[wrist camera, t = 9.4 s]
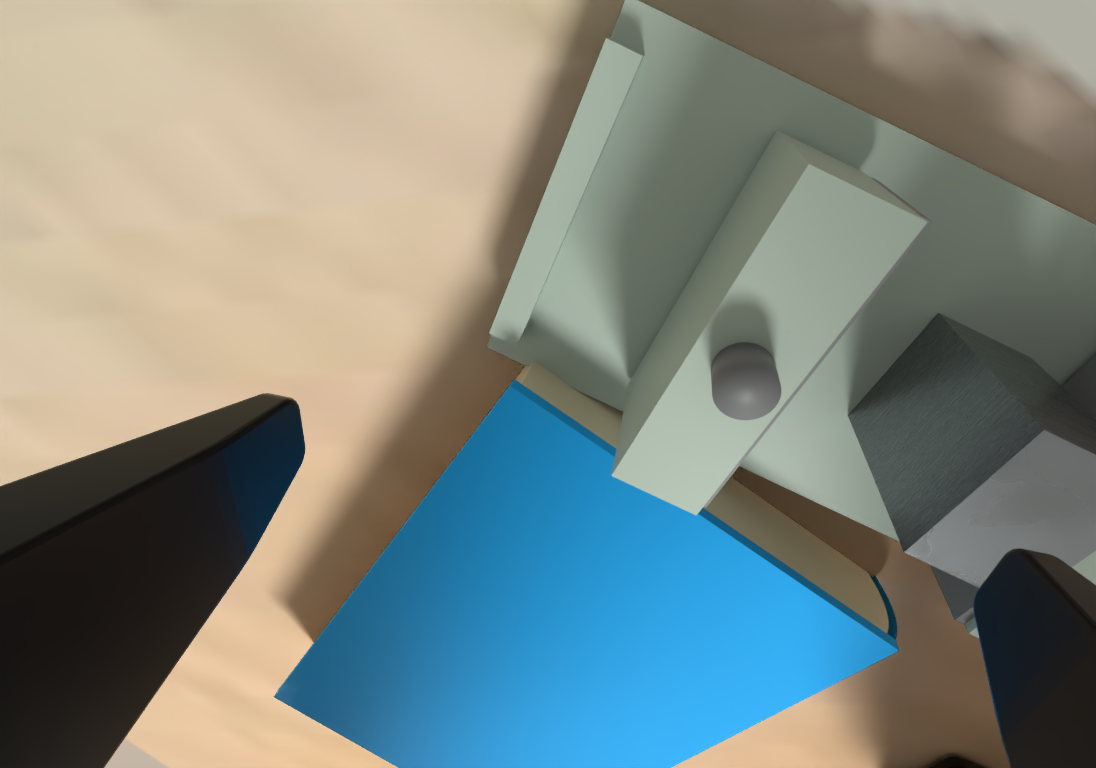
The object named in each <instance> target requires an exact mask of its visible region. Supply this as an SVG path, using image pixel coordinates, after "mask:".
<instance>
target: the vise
mask: <svg viewBox="0 0 1096 768" xmlns="http://www.w3.org/2000/svg"><path fill="white" fill-rule="evenodd" d="M777 130H778V131H780V132H782V133H784V134H786V135H788V136H790V137H793V138H795V139H797V140H799V141H801V142H803V143H805V144H807V145H809V146H811V147H813V148H815V149H817V150H819V151H821V152H823V153H825V154H827V155H829V156H831V157H834V158H836V159H838V160H840V161H842V162H844V163H846V164H848V165H850V166H852V167H854V168H856V169H858V170H860V171H862V172H864V173H865V174H866V175H868V176H870V177H872V178H874V179H876V180H878V181H879V182H881V183H882V184H883V185H885V186H886V187H887V188H889V189H890V190H891V191H893V192H894V193H895V194H897V195H898V196H899V197H901V198H902V199H903V200H905V201H906V202H907V203H909V204H910V205H911V206H913V207H914V208H915V209H916V210H918V211H919V212H920V213H922V214H923V215H924V216H926V217H927V218H928V219H930V220H931V221H932V224H931V225H930V226H929V227H928V229H927V230H926V231H925V232H924V234H923V235H922V236H921V237H920V239H919V240H918V241H917V242H916V244H915V245H914V246H913V248H912V249H911V250H910V251H909V253H908V254H907V255H906V256H905V258H904V259H903V260H902V261H901V263H900V264H899V265H898V266H897V268H896V269H895V270H894V271H893V273H892V274H891V275H890V277H889V278H888V279H887V280H886V282H885V283H884V284H883V285H882V287H881V288H880V289H879V290H878V292H877V293H876V294H875V295H874V297H873V298H872V299H871V301H870V302H869V303H868V304H867V306H866V307H865V308H864V309H863V311H862V312H861V313H860V314H859V316H858V317H857V318H856V319H855V321H854V322H853V323H852V324H851V326H850V327H849V328H848V330H847V331H846V332H845V333H844V335H843V336H842V337H841V338H840V340H839V341H838V342H837V343H836V345H835V346H834V347H833V348H832V350H831V351H830V352H829V353H828V355H827V356H826V357H825V359H824V360H823V361H822V362H821V364H820V365H819V366H818V367H817V369H816V370H815V371H814V372H813V374H812V375H811V376H810V377H809V379H808V380H807V381H806V382H805V384H804V385H803V386H802V388H801V389H800V390H799V391H798V393H797V394H796V395H795V396H794V398H793V399H792V400H791V401H790V403H789V404H788V405H787V406H786V408H785V409H784V410H783V411H782V413H781V414H780V415H779V417H778V418H777V419H776V420H775V422H774V423H773V424H772V425H771V427H770V428H769V429H768V430H767V432H766V433H765V434H764V435H763V437H762V438H761V439H760V440H759V442H758V443H757V444H756V446H755V447H754V448H753V449H752V451H751V452H750V453H749V454H748V456H747V457H746V458H745V459H744V461H743V462H742V463H741V464H740V467H742V468H744V469H746V470H748V471H750V472H752V473H755V474H757V475H759V476H761V477H763V478H765V479H767V480H769V481H772V482H774V483H776V484H778V485H780V486H782V487H784V488H786V489H789V490H791V491H793V492H795V493H797V494H799V495H801V496H803V497H805V498H808V499H810V500H812V501H814V502H816V503H818V504H820V505H822V506H825V507H827V508H829V509H831V510H833V511H835V512H837V513H839V514H842V515H844V516H846V517H848V518H850V519H852V520H854V521H856V522H859V523H861V524H863V525H865V526H867V527H869V528H871V529H873V530H876V531H878V532H880V533H882V534H884V535H886V536H888V537H890V538H893V539H895V540H897V541H899V539H898V536H897V534H896V531H895V529H894V527H893V524H892V522H891V519H890V517H889V514H888V512H887V510H886V507H885V505H884V502H883V500H882V497H881V495H880V493H879V490H878V488H877V485H876V483H875V480H874V478H873V476H872V473H871V471H870V468H869V466H868V463H867V461H866V459H865V456H864V454H863V451H862V449H861V446H860V444H859V442H858V439H857V437H856V434H855V432H854V430H853V427H852V425H851V422H850V420H849V417H848V414H849V413H850V412H851V411H852V410H853V409H854V408H855V407H856V405H857V404H858V403H859V402H860V401H861V400H862V399H863V397H864V396H865V395H866V394H867V393H868V392H869V391H870V390H871V388H872V387H873V386H874V385H875V384H876V383H877V382H878V380H879V379H880V378H881V377H882V376H883V375H884V374H885V372H886V371H887V370H888V369H889V368H890V367H891V366H892V365H893V363H894V362H895V361H896V360H897V359H898V358H899V357H900V355H901V354H902V353H903V352H904V351H905V350H906V349H907V347H908V346H909V345H910V344H911V343H912V342H913V341H914V340H915V338H916V337H917V336H918V335H919V334H920V333H921V332H922V330H923V329H924V328H925V327H926V326H927V325H928V324H929V323H930V321H931V320H932V319H933V318H934V317H935V316H936V315H937V313H940V314H942V315H944V316H946V317H948V318H951V319H953V320H955V321H957V322H959V323H961V324H963V325H965V326H967V327H969V328H971V329H973V330H975V331H977V332H979V333H981V334H983V335H986V336H988V337H990V338H992V339H994V340H996V341H998V342H1000V343H1002V344H1004V345H1006V346H1008V347H1010V348H1012V349H1014V350H1016V351H1018V352H1021V353H1023V354H1025V355H1027V356H1029V357H1031V358H1032V359H1033V360H1034V361H1035V362H1036V363H1037V364H1039V365H1040V366H1041V367H1042V368H1043V369H1044V370H1045V371H1046V372H1047V373H1048V374H1049V375H1050V376H1051V377H1052V378H1053V379H1055V380H1056V381H1057V382H1058V383H1059V384H1060V385H1061V386H1062V387H1063V388H1064V389H1065V390H1066V391H1067V392H1068V393H1069V394H1071V395H1072V396H1073V397H1074V398H1075V399H1076V400H1077V401H1078V402H1079V403H1080V404H1081V405H1082V406H1083V407H1084V408H1085V409H1087V410H1088V411H1089V412H1090V413H1091V414H1092V415H1093V416H1094V417H1095V418H1096V225H1095V224H1093V223H1091V222H1089V221H1087V220H1085V219H1083V218H1081V217H1079V216H1077V215H1075V214H1073V213H1071V212H1069V211H1067V210H1065V209H1063V208H1061V207H1059V206H1057V205H1055V204H1052V203H1050V202H1048V201H1046V200H1044V199H1042V198H1040V197H1038V196H1036V195H1034V194H1032V193H1030V192H1028V191H1026V190H1024V189H1022V188H1020V187H1018V186H1016V185H1014V184H1012V183H1010V182H1008V181H1006V180H1004V179H1002V178H999V177H997V176H995V175H993V174H991V173H989V172H987V171H985V170H983V169H981V168H979V167H977V166H975V165H973V164H971V163H969V162H967V161H965V160H963V159H961V158H959V157H957V156H955V155H953V154H951V153H948V152H946V151H944V150H942V149H940V148H938V147H936V146H934V145H932V144H930V143H928V142H926V141H924V140H922V139H920V138H918V137H916V136H914V135H912V134H910V133H908V132H906V131H904V130H902V129H900V128H898V127H895V126H893V125H891V124H889V123H887V122H885V121H883V120H881V119H879V118H877V117H875V116H873V115H871V114H869V113H867V112H865V111H863V110H861V109H859V108H857V107H855V106H853V105H851V104H849V103H847V102H845V101H842V100H840V99H838V98H836V97H834V96H832V95H830V94H828V93H826V92H824V91H822V90H820V89H818V88H816V87H814V86H812V85H810V84H808V83H806V82H804V81H802V80H800V79H798V78H796V77H794V76H792V75H789V74H787V73H785V72H783V71H781V70H779V69H777V68H775V67H773V66H771V65H769V64H767V63H765V62H763V61H761V60H759V59H757V58H755V57H753V56H751V55H749V54H747V53H745V52H743V51H741V50H739V49H736V48H734V47H732V46H730V45H728V44H726V43H724V42H722V41H720V40H718V39H716V38H714V37H712V36H710V35H708V34H706V33H704V32H702V31H700V30H698V29H696V28H694V27H692V26H690V25H688V24H686V23H683V22H681V21H679V20H677V19H675V18H673V17H671V16H669V15H667V14H665V13H663V12H661V11H659V10H657V9H655V8H653V7H651V6H649V5H647V4H645V3H643V2H641V1H639V0H625V1H624V4H623V6H622V9H621V12H620V14H619V17H618V19H617V22H616V24H615V27H614V29H613V32H612V34H611V37H610V38H606V39H605V42H604V44H603V47H602V49H601V52H600V54H599V57H598V59H597V62H596V64H595V67H594V69H593V72H592V75H591V77H590V80H589V82H588V85H587V87H586V90H585V92H584V95H583V97H582V100H581V102H580V105H579V107H578V110H577V112H576V115H575V117H574V120H573V122H572V125H571V128H570V130H569V133H568V135H567V138H566V140H565V143H564V145H563V148H562V150H561V153H560V155H559V158H558V160H557V163H556V165H555V168H554V170H553V173H552V175H551V178H550V181H549V183H548V186H547V188H546V191H545V193H544V196H543V198H542V201H541V203H540V206H539V208H538V211H537V213H536V216H535V218H534V221H533V223H532V226H531V228H530V231H529V234H528V236H527V239H526V241H525V244H524V246H523V249H522V251H521V254H520V256H519V259H518V261H517V264H516V266H515V269H514V271H513V274H512V276H511V279H510V281H509V284H508V287H507V289H506V292H505V294H504V297H503V299H502V302H501V304H500V307H499V309H498V312H497V314H496V317H495V319H494V322H493V324H492V327H491V329H490V332H489V334H491V337H490V339H489V342H488V344H487V348H489V349H491V350H493V351H495V352H498V353H500V354H502V355H504V356H506V357H508V358H510V359H512V360H515V361H517V362H519V363H521V364H523V365H525V366H527V367H529V366H530V365H531V364H532V362H533V361H535V362H536V363H538V364H539V365H541V366H542V367H543V368H545V369H546V370H548V371H549V372H551V373H552V374H554V375H555V376H556V377H558V378H559V379H561V380H562V381H564V382H565V383H567V384H568V385H569V386H571V387H572V388H574V389H576V390H578V391H580V392H582V393H585V394H587V395H589V396H591V397H593V398H595V399H597V400H599V401H602V402H604V403H606V404H608V405H610V406H612V407H614V408H616V409H619V410H621V411H624V406H625V401H626V395H627V390H628V385H629V382H630V380H631V379H632V377H633V375H634V373H635V372H636V370H637V368H638V367H639V365H640V363H641V361H642V360H643V358H644V356H645V355H646V353H647V351H648V349H649V348H650V346H651V344H652V343H653V341H654V339H655V337H656V336H657V334H658V332H659V331H660V329H661V327H662V326H663V324H664V322H665V320H666V319H667V317H668V315H669V314H670V312H671V310H672V308H673V307H674V305H675V303H676V302H677V300H678V298H679V296H680V295H681V293H682V291H683V290H684V288H685V286H686V284H687V283H688V281H689V279H690V278H691V276H692V274H693V273H694V271H695V269H696V267H697V266H698V264H699V262H700V261H701V259H702V257H703V255H704V254H705V252H706V250H707V249H708V247H709V245H710V243H711V242H712V240H713V238H714V237H715V235H716V233H717V231H718V230H719V228H720V226H721V225H722V223H723V221H724V220H725V218H726V216H727V214H728V213H729V211H730V209H731V208H732V206H733V204H734V202H735V201H736V199H737V197H738V196H739V194H740V192H741V190H742V189H743V187H744V185H745V184H746V182H747V180H748V178H749V177H750V175H751V173H752V172H753V170H754V168H755V166H756V165H757V163H758V161H759V160H760V158H761V156H762V155H763V153H764V151H765V149H766V148H767V146H768V144H769V143H770V141H771V139H772V137H773V136H774V134H775V132H776V131H777ZM899 542H900V541H899ZM930 566H931V568H932V570H933V572H934V575H935V577H936V579H937V581H938V584H939V586H940V588H941V590H942V592H943V595H944V597H945V599H946V601H947V603H948V606H949V608H950V610H951V612H952V614H953V617H954V619H955V620H956V621H958V622H960V623H962V624H964V625H965V627H966V629H967V631H968V633H969V634H971V635H973V636H975V637H977V638H979V634H978V630H977V625H976V621H975V616H974V609H973V603H974V598H975V595H976V592H977V590H978V589H979V588H978V587H976V586H974V585H972V584H970V583H968V582H966V581H964V580H961V579H959V578H957V577H955V576H953V575H951V574H949V573H947V572H944V571H942V570H940V569H938V568H936V567H934V566H932V565H930ZM1072 568H1073V569H1075V570H1076V571H1077V572H1079V573H1080V574H1081V575H1083V576H1084V577H1085V578H1087V579H1088V580H1090V581H1091V582H1092V583H1094V584H1095V585H1096V551H1094V552H1093V553H1092V554H1090V555H1089V556H1087V557H1086V558H1084V559H1083V560H1082V561H1080V562H1079V563H1077V564H1076V565H1074V566H1073V567H1072Z"/></svg>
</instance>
